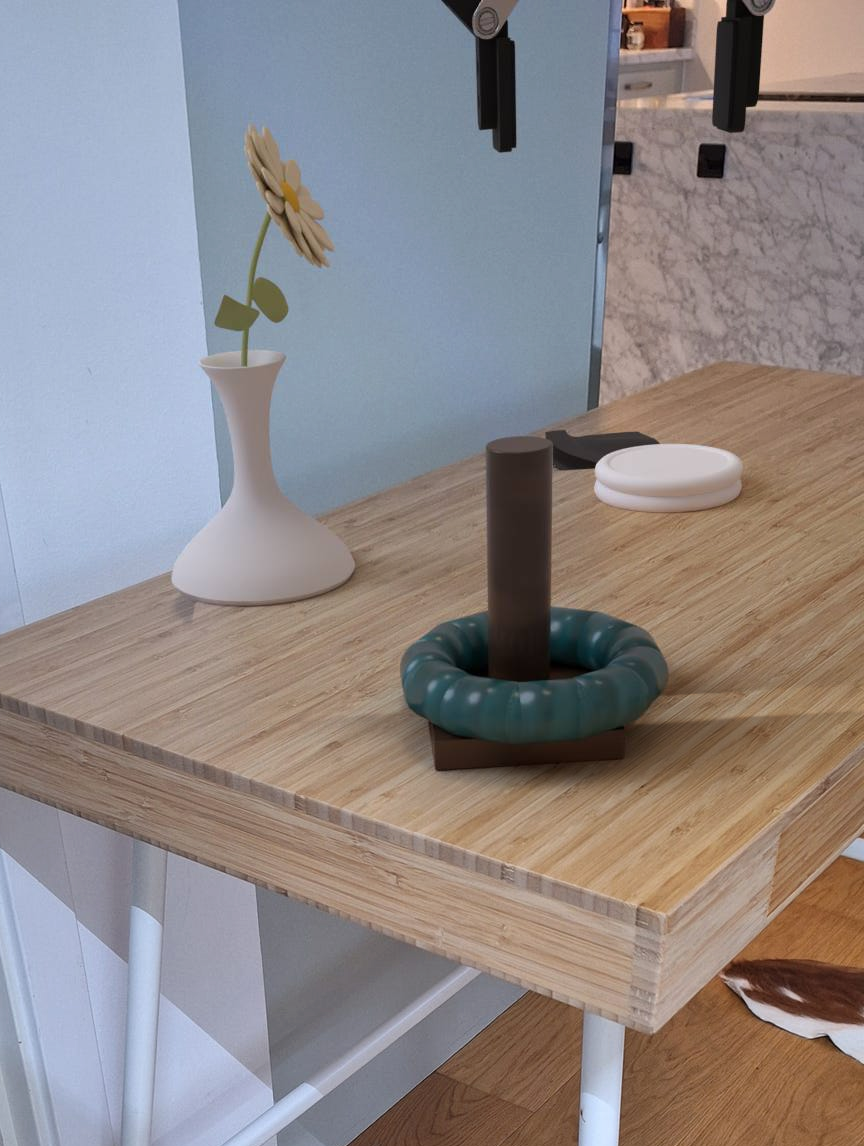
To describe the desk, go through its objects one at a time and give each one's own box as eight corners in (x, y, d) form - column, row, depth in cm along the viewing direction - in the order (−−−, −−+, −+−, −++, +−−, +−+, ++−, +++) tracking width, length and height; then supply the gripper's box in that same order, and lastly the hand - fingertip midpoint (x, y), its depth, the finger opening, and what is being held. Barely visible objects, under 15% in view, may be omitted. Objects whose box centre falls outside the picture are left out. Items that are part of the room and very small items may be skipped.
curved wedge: (584, 498, 106) (584, 474, 105) (540, 453, 117) (540, 431, 116) (695, 486, 107) (697, 463, 106) (641, 443, 118) (642, 421, 117)
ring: (635, 643, 78) (638, 591, 76) (689, 742, 67) (693, 684, 66) (395, 660, 78) (392, 608, 76) (411, 762, 67) (408, 704, 66)
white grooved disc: (564, 519, 102) (565, 466, 100) (644, 485, 108) (647, 435, 106) (689, 542, 96) (693, 487, 94) (766, 505, 102) (771, 452, 100)
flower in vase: (286, 640, 85) (239, 137, 71) (137, 613, 91) (65, 140, 76) (405, 574, 94) (385, 114, 80) (262, 552, 99) (219, 118, 85)
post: (595, 687, 77) (604, 414, 69) (623, 758, 70) (637, 462, 62) (424, 697, 77) (413, 427, 69) (435, 770, 70) (424, 476, 62)
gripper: (392, -416, 50) (420, 165, 60) (899, -461, 50) (843, 129, 60) (383, -371, 56) (410, 150, 66) (834, -410, 56) (793, 117, 66)
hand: (615, 139), depth 63 cm, fingers open, 9 cm apart
